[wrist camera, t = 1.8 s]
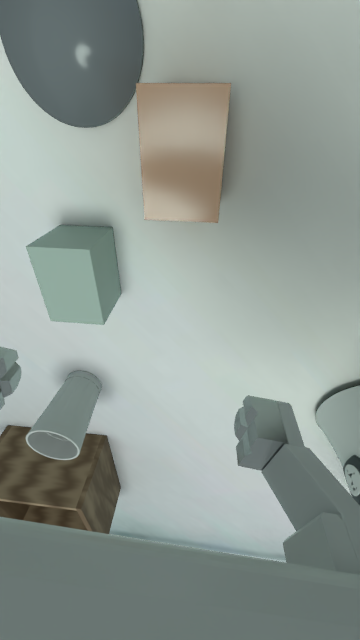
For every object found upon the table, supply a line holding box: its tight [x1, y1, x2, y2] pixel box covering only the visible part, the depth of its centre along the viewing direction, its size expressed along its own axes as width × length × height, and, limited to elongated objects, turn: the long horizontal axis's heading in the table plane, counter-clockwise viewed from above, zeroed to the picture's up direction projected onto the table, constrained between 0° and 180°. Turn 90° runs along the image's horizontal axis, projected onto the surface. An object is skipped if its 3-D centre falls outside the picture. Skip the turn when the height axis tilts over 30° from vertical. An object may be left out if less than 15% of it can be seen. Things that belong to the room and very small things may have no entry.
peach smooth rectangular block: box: [136, 83, 231, 223], centre depth 23 cm, size 6×9×7 cm
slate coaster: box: [0, 0, 143, 128], centre depth 22 cm, size 12×12×1 cm
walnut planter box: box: [0, 425, 121, 534], centre depth 61 cm, size 23×26×14 cm
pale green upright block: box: [26, 225, 121, 325], centre depth 31 cm, size 6×9×7 cm
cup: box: [26, 371, 102, 460], centre depth 44 cm, size 8×8×12 cm
